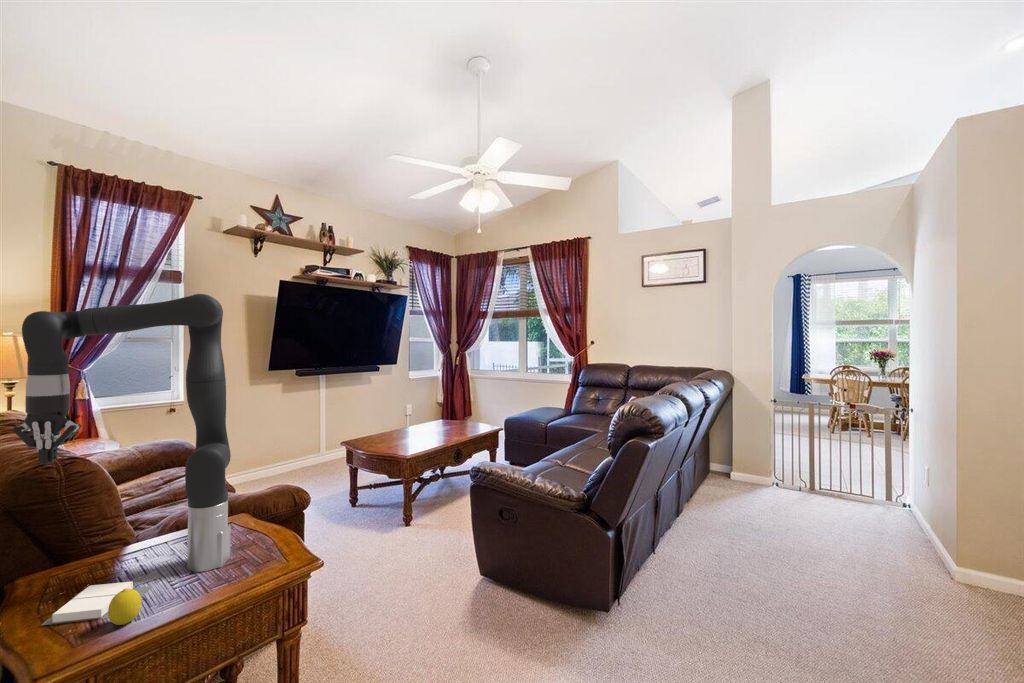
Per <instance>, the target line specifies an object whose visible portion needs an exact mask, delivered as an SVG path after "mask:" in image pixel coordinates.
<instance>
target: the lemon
mask: <svg viewBox="0 0 1024 683" xmlns="http://www.w3.org/2000/svg"><path fill="white" fill-rule="evenodd" d="M141 608H142V598H141V596H140V594H139V593H138V592H137V591H136V590H134V589H127V588H126V589H123V591H121V592H119V593H118V594H116V595H115V596H114V597H113V599H112V600H111V602H110V605H109V608H108V616H109V618H108V620H109V621H110V622H111V623H112V624H114V625H118V626H122V625H123V626H125V625H127V624H129V623H130V622H132V621H133V620H134V619H136V618H137V616H138V615H139V613H140V611H141Z"/></svg>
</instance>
